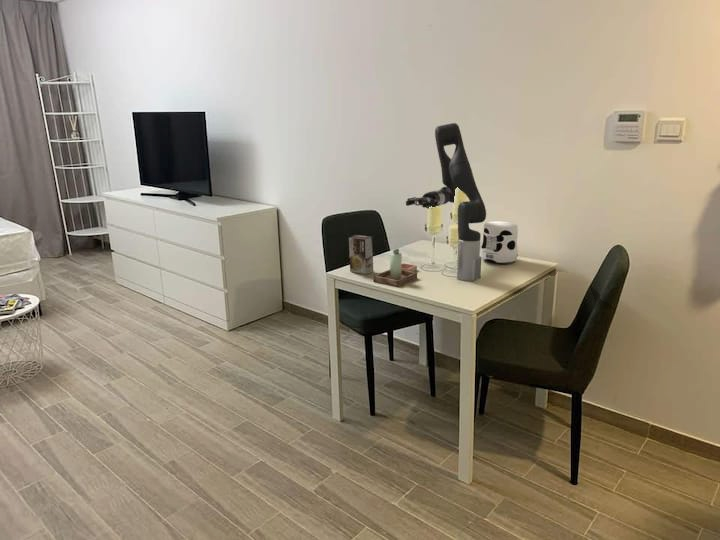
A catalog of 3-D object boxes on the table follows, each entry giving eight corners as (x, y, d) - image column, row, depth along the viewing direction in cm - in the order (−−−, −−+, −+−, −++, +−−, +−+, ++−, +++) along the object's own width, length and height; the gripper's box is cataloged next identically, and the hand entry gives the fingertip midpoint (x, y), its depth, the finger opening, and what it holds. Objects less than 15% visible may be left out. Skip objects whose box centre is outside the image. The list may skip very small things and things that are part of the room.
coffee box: (373, 271, 246) (373, 236, 241) (365, 274, 241) (365, 239, 236) (357, 268, 251) (356, 234, 246) (349, 271, 246) (348, 237, 241)
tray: (417, 278, 234) (417, 272, 234) (398, 286, 223) (398, 281, 223) (393, 273, 242) (393, 268, 241) (373, 281, 231) (373, 276, 230)
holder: (416, 270, 246) (416, 265, 245) (408, 274, 240) (408, 269, 240) (403, 267, 250) (403, 263, 250) (394, 271, 245) (394, 266, 244)
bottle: (403, 278, 233) (404, 248, 229) (396, 280, 229) (397, 251, 225) (394, 276, 236) (394, 247, 232) (387, 278, 232) (388, 249, 228)
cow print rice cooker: (514, 257, 265) (516, 220, 260) (520, 266, 248) (523, 228, 243) (478, 256, 267) (480, 220, 262) (482, 266, 250) (484, 228, 245)
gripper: (420, 190, 254) (401, 194, 242) (447, 192, 246) (429, 197, 234) (420, 205, 256) (401, 211, 244) (447, 208, 248) (428, 214, 236)
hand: (414, 204), depth 239 cm, fingers open, 8 cm apart
